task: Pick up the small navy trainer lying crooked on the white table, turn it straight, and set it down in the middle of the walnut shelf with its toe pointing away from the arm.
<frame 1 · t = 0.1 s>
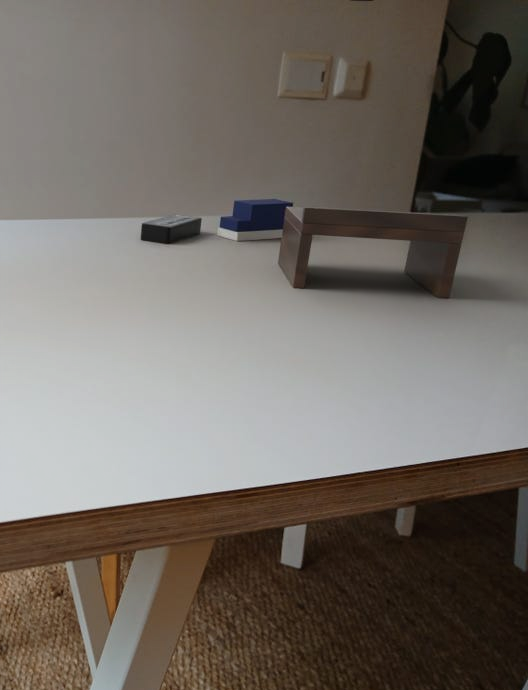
trainer: (253, 236, 108), on the table
multiport hub: (171, 237, 106), on the table
shelf: (356, 279, 84), on the table
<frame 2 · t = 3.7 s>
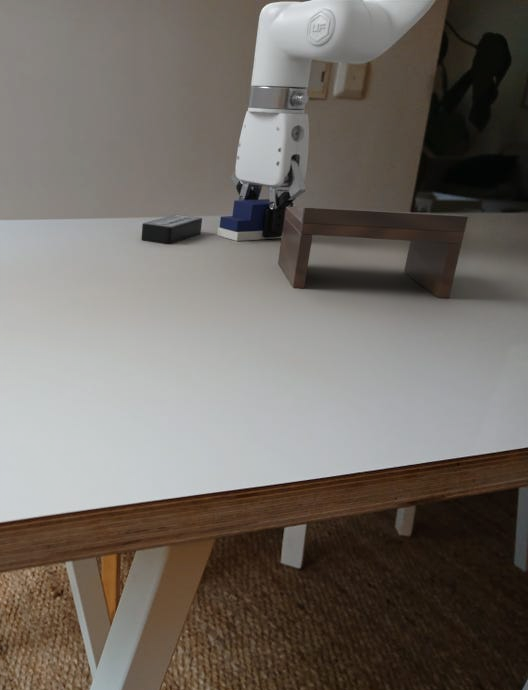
hand: (259, 232, 108), 1 cm above the table, tool pointing down, fingers closed on trainer, 4 cm apart
trainer: (253, 236, 108), on the table, touching gripper
everything else where it was.
when the fingers open (8 cm above the table, at t = 10.9 s): trainer stays where it is, resting on shelf.
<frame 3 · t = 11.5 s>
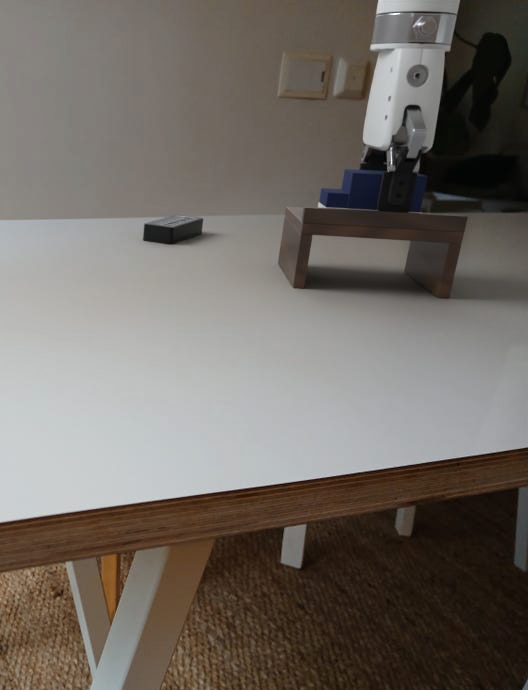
hand: (380, 205, 81), 9 cm above the table, tool pointing down, fingers open, 9 cm apart
trainer: (367, 218, 82), point 7 cm above the table, touching shelf
everything else where it was.
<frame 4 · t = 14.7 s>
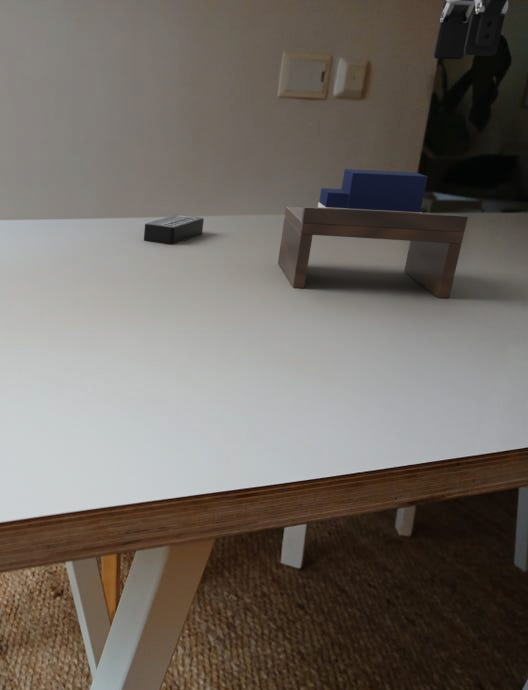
hand: (462, 57, 85), 24 cm above the table, tool pointing down, fingers open, 9 cm apart
nothing on the table moved.
at the end: trainer 0.1 cm off-centre on the shelf, point 7.0 cm above the shelf's base; trainer tilted 0° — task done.
